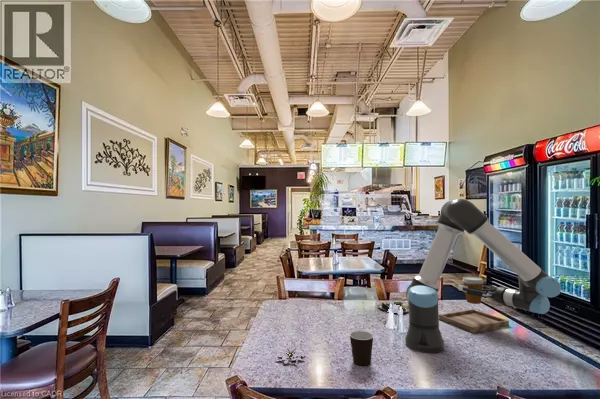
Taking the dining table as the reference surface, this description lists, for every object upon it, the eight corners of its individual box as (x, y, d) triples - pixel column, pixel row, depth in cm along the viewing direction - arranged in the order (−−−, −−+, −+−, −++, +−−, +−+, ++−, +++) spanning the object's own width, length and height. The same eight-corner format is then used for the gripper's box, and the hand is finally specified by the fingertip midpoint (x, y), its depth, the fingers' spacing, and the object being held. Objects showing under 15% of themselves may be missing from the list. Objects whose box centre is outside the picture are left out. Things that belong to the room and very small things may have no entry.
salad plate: (390, 302, 193) (390, 295, 193) (418, 309, 180) (418, 300, 180) (373, 309, 179) (373, 301, 179) (401, 316, 166) (401, 308, 167)
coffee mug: (369, 370, 109) (368, 341, 109) (346, 364, 113) (346, 336, 114) (379, 357, 119) (378, 331, 119) (358, 352, 123) (357, 326, 124)
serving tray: (472, 333, 141) (472, 327, 142) (438, 319, 160) (438, 314, 160) (508, 325, 150) (508, 320, 150) (472, 313, 169) (472, 309, 169)
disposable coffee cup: (483, 300, 158) (482, 277, 159) (485, 305, 150) (484, 280, 150) (462, 299, 162) (461, 276, 163) (463, 303, 154) (462, 279, 154)
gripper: (492, 308, 136) (450, 295, 157) (524, 302, 143) (480, 291, 164) (491, 290, 136) (449, 280, 157) (523, 286, 143) (479, 277, 165)
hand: (465, 286), depth 161 cm, fingers closed on disposable coffee cup, 8 cm apart
